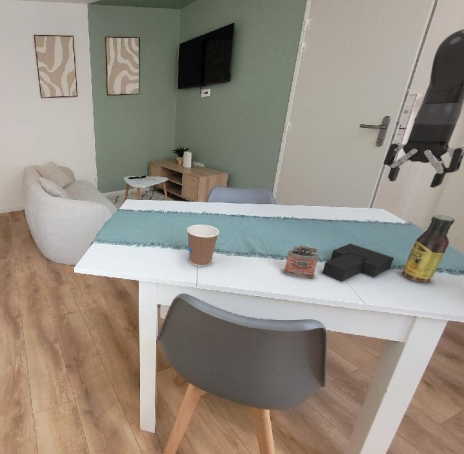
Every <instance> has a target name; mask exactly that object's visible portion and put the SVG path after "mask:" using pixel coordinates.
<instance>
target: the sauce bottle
mask: <svg viewBox="0 0 464 454" xmlns="http://www.w3.org/2000/svg"><path fill="white" fill-rule="evenodd" d="M455 220H456V219H455V218H454V217H452V216H449V215H444V214H435V215H433V216H432V217H431V219H430V221H431V222H430V223H429V226H428V227H427V229H426V230H425V231H424V232H423V233H422V234H420V236H418V237H417V238H416V239H415V241H414V244H413V246H412V248H411V250H410V252H409V255H408V257H407V259H406V261H405V263H404V266H403V268H402V276H404V277H405V278H406V279H408V280H410V281H413V282H417V283H429V282H431V280H432V279H433V277H434V275H435V273H436V272H437V269H438V267H439V266H440V264H441V261H442V260H443V257H444V255H445V254H446V250H447V248H448V246H449V244H450V241H449V238H448V233H449V231H450V228H451V226H452V225H454V222H455Z"/></svg>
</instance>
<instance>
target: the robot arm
mask: <svg viewBox="0 0 464 454" xmlns="http://www.w3.org/2000/svg"><path fill="white" fill-rule="evenodd" d="M463 106H464V29H459V30H457V31H454V32H452V33H451V34H449V35H447V36H446V37H445V38H444V39H443V40H442V42H441V43H440V44H439V46H437V49H436V52H435V54H434V57H433V61H432V65H431V71H430V77H429V84H428V86H427V89H426V91H425V94H424V97H423V100H422V102H421V105H420V107H419V109H418V111H417V113H416V116H415V118H414V120H413V124H412V127H411V130H410V132H409V136H408V139H407V142H406V143H405V144H404V143H399V142H394V143H391V144H390V146H389V148H388V150H387V153H386V155H385V158H384V160H383V165H385V166H388V167H389V168H390V169H389V173H388V176H387V179H388V181H389V182H396V181H397V178H398V176H399V172H400V170H401V166H402V165H404V164H406V163H407V162H409V161H410V162H412V163H413V162H414V163H415V162H416V163H417V162H419V163H421V164H422V163H423V164H428V163H430V165H431V166H432V167H433V168H434V169H435V170H434V171H436V173H435V174H434V175H433V178H432V181H431V183H430V185H429V188H431V189H432V188H433V189H435V188H437V187H438V186H441V185H442V184H443V182H444V179H445V176H446V174H448V173H449V174H450V173H454V172H455V173H456V172H458V171H460V168H461V165H462V162H463V159H464V146H460V147H450V146H449V145H450V141H451V140H452V139H451V138H452V136H453V134H454V131H455V129H456V126H457V125H458V121H459V119H460V117H461V114H462V110H463ZM402 150H403V152H404V155H402V156H401V157H400V158H398V159H397V160H395V159H396V156H397V154H398V152H401V151H402ZM447 153H448V155H449V157H451V160H450V162H449V165H448V167H447V165H446V164H445V161H444V159H443V157H442V156H444V155H446V154H447Z"/></svg>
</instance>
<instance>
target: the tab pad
mask: <svg viewBox="0 0 464 454" xmlns="http://www.w3.org/2000/svg"><path fill="white" fill-rule="evenodd" d="M365 259H366V258H363V257H360V256H357V255H354V254H349V255H342V256H339V257H337V258H335V259H332V260H331V259H330V260H328V261H326V262H324V265H323V269H322V274H323V275H325V276H327V277H329V278H332V279H334V280H337V281H339V282H341V283H342V282H343V281H347V280H348V279H350V278H352V277H354V276H356V275H358V274H360V271H361V268H362V265H363V261H364V260H365Z"/></svg>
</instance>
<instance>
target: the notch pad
mask: <svg viewBox="0 0 464 454" xmlns="http://www.w3.org/2000/svg"><path fill="white" fill-rule="evenodd" d="M349 254H354V255H357V256H360V257H363V258H366V259H365V260H364V261H363V265H362V268H361V271H360V273H361V274H363V275H365V276H368V277H371V278H375V277H376V276H379V275H381V274H382V273H385V272H387V271H388V270H390V269H391V266H392V264H393V262H394V258H395V257H393V256H390V255H387V254H384V253H380V252H377V251H374V250H372V249H368V248H365V247H363V246H359V245H357V244H353V243H348V244H344V245H343V246H341V247H338V248H336V249H333V250H332V253H331V256H330V260H332V259H335V258H337V257H339V256H342V255H349ZM360 273H359V274H360Z"/></svg>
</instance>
